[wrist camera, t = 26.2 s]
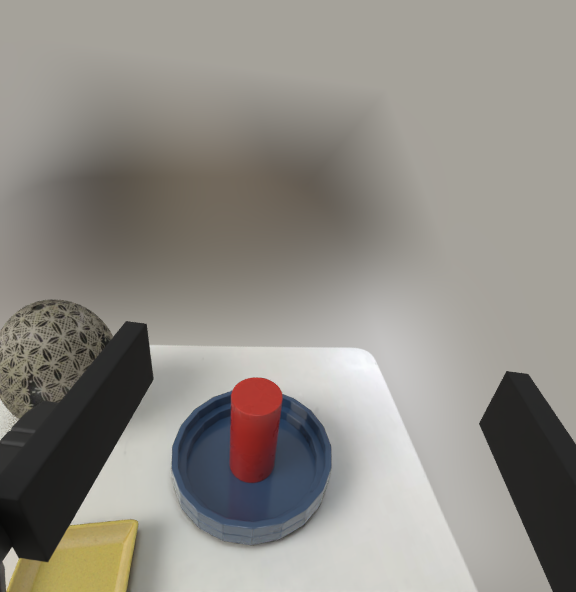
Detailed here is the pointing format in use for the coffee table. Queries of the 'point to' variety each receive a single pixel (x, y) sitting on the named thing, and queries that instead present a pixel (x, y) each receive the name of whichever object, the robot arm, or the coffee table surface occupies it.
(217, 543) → the coffee table surface
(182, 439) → the dish
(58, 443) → the robot arm
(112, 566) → the saucer
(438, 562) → the coffee table surface
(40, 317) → the decorative egg
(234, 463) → the cylinder
